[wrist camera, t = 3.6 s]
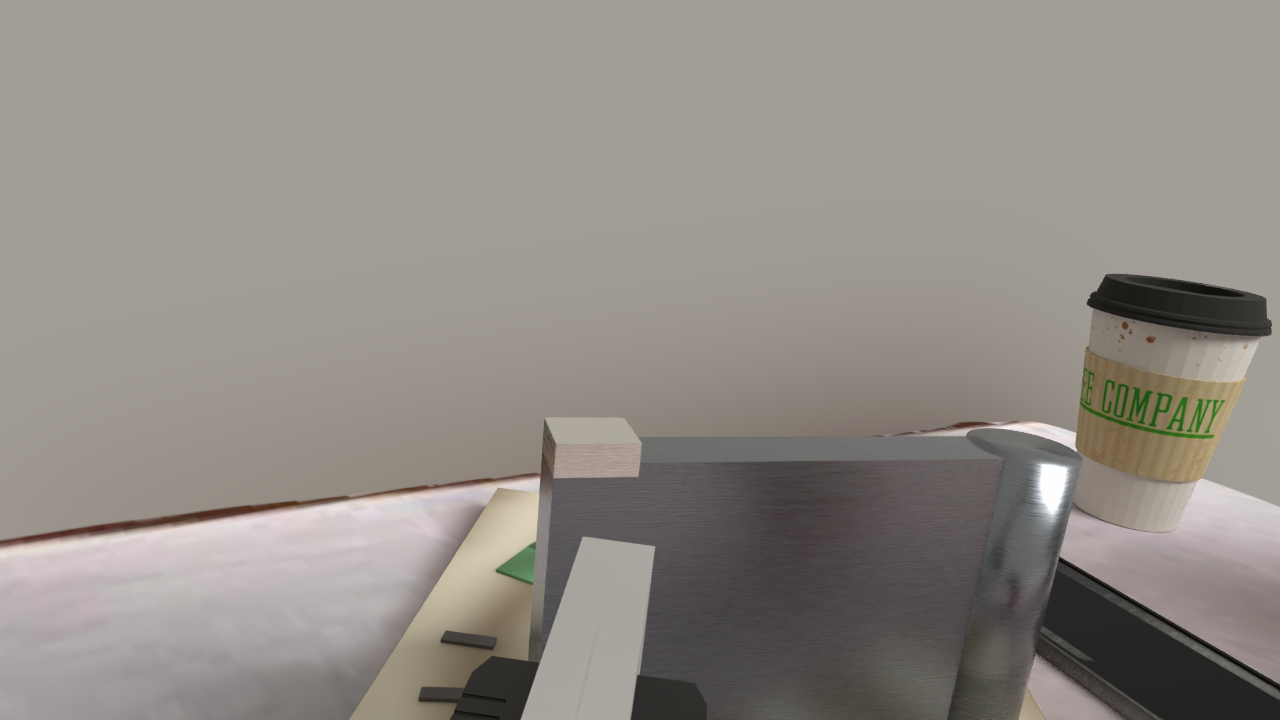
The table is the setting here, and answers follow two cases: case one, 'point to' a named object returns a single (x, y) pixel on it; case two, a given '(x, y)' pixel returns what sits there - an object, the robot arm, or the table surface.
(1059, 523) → the grey flat rounded-edge slab
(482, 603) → the board
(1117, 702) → the phone
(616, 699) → the robot arm
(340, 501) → the table surface
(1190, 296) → the coffee cup
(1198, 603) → the table surface
